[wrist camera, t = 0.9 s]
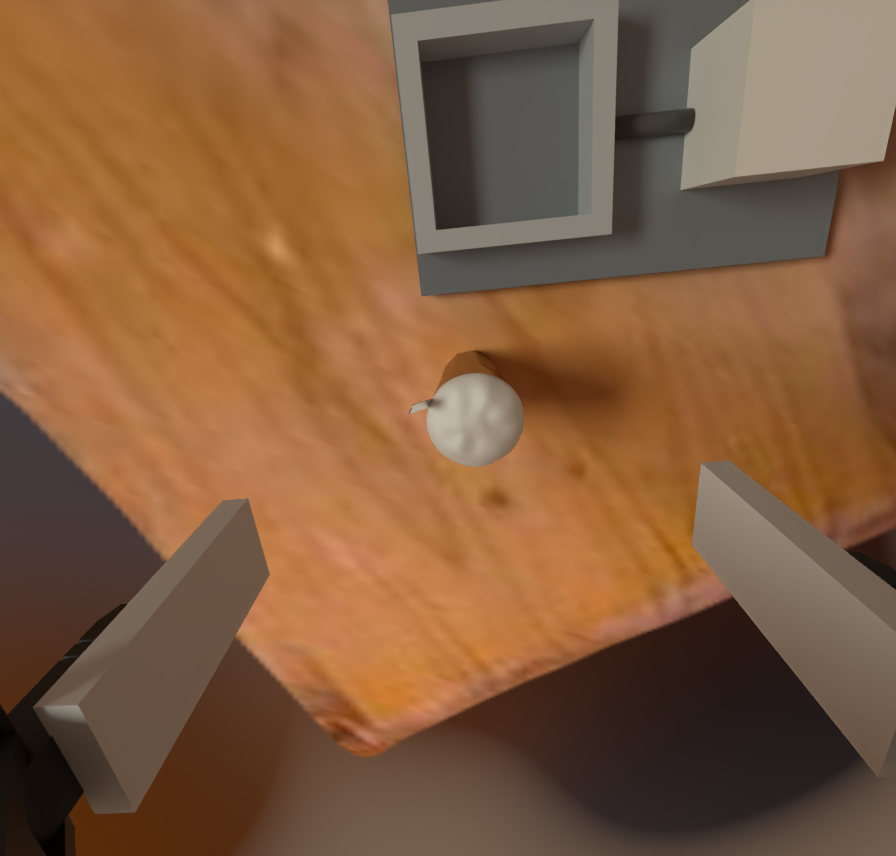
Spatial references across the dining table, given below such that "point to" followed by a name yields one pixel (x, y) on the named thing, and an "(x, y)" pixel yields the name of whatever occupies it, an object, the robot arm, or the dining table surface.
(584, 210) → the dock
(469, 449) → the milkshake
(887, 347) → the dining table surface
